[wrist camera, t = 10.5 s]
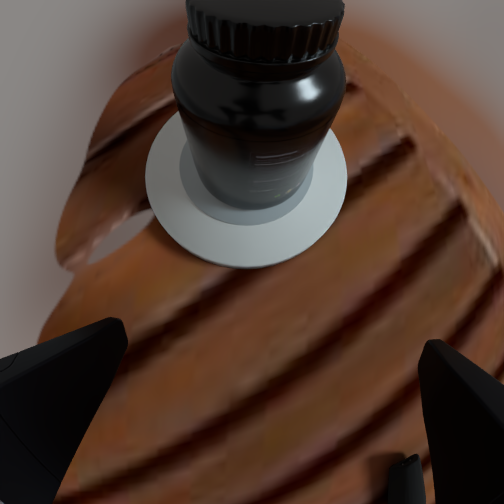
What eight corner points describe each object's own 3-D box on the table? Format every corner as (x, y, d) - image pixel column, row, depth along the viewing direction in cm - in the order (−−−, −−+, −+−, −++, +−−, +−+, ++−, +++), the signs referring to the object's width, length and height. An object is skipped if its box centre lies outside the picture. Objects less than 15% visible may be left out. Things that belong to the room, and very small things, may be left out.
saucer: (208, 308, 17) (204, 308, 16) (126, 149, 19) (118, 137, 18) (374, 208, 19) (384, 199, 17) (274, 80, 21) (276, 66, 20)
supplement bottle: (177, 150, 18) (123, -12, 6) (265, 105, 19) (285, -50, 7) (235, 237, 17) (223, 82, 5) (328, 180, 18) (419, 29, 6)
